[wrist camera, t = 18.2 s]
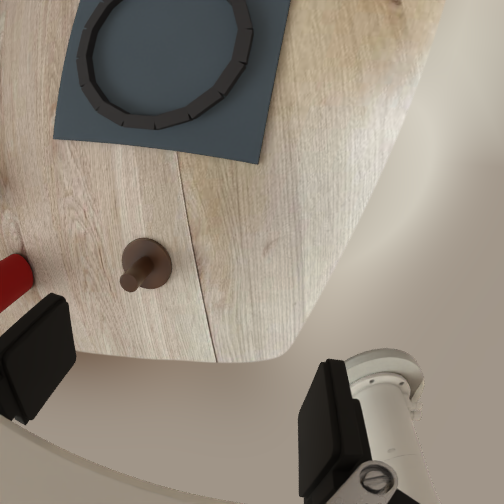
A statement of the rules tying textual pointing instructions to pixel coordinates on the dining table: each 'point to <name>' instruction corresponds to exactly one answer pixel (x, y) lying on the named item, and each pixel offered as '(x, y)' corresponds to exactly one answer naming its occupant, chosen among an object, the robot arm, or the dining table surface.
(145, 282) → the brown peg stand
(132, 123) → the ring
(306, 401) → the robot arm
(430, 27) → the dining table surface
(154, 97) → the mat
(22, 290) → the beverage can
